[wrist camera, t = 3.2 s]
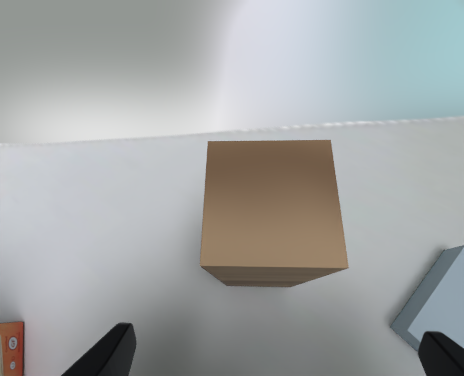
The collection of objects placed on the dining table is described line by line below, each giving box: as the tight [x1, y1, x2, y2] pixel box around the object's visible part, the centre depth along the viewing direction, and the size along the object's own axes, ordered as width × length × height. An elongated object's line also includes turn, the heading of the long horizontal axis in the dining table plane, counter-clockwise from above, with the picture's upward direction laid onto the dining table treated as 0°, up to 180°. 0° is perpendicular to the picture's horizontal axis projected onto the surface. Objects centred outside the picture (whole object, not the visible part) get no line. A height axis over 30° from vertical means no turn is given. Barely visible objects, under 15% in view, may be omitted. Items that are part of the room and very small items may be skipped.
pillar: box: [200, 140, 349, 287], centre depth 15 cm, size 4×4×12 cm
